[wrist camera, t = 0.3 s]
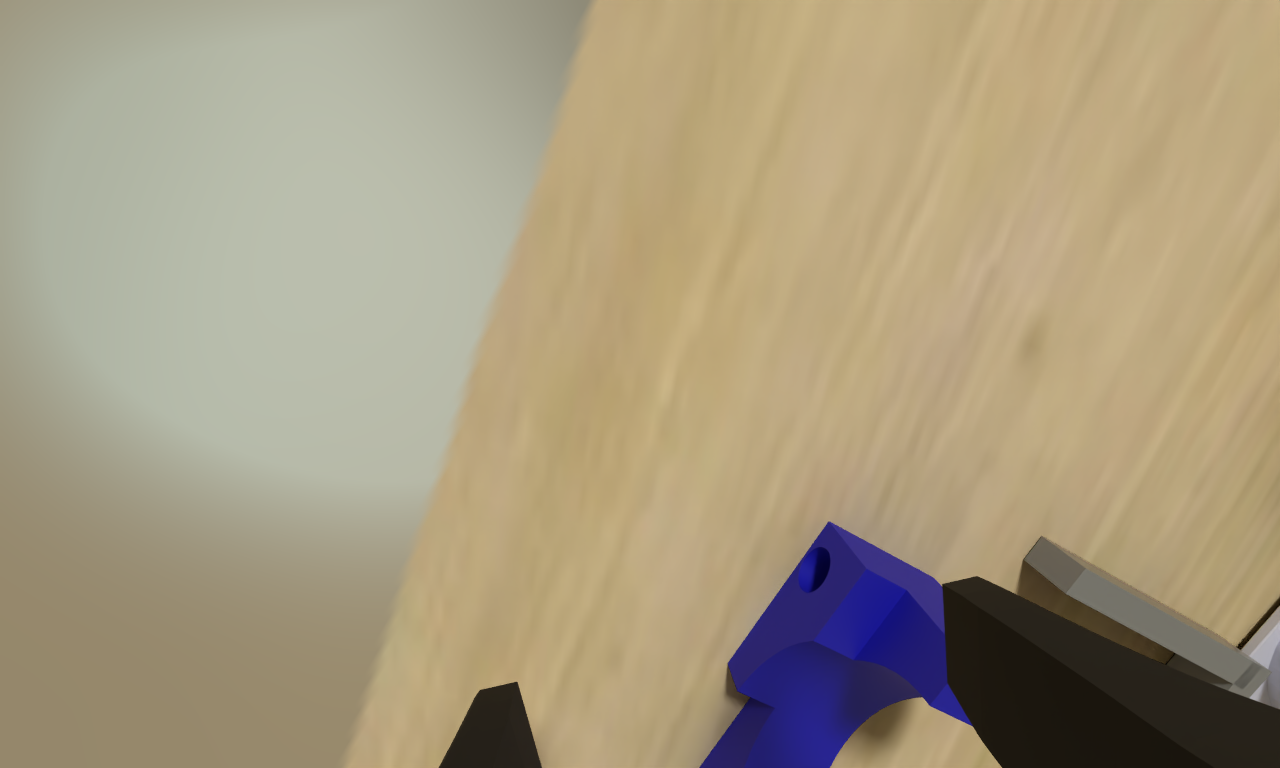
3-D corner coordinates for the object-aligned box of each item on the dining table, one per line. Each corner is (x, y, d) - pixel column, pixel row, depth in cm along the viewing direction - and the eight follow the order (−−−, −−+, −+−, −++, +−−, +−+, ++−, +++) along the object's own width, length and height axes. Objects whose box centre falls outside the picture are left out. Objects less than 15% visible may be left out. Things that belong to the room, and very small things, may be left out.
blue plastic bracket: (826, 518, 22) (920, 636, 16) (930, 574, 23) (1052, 703, 17) (634, 788, 24) (658, 974, 19) (738, 827, 25) (790, 1015, 20)
